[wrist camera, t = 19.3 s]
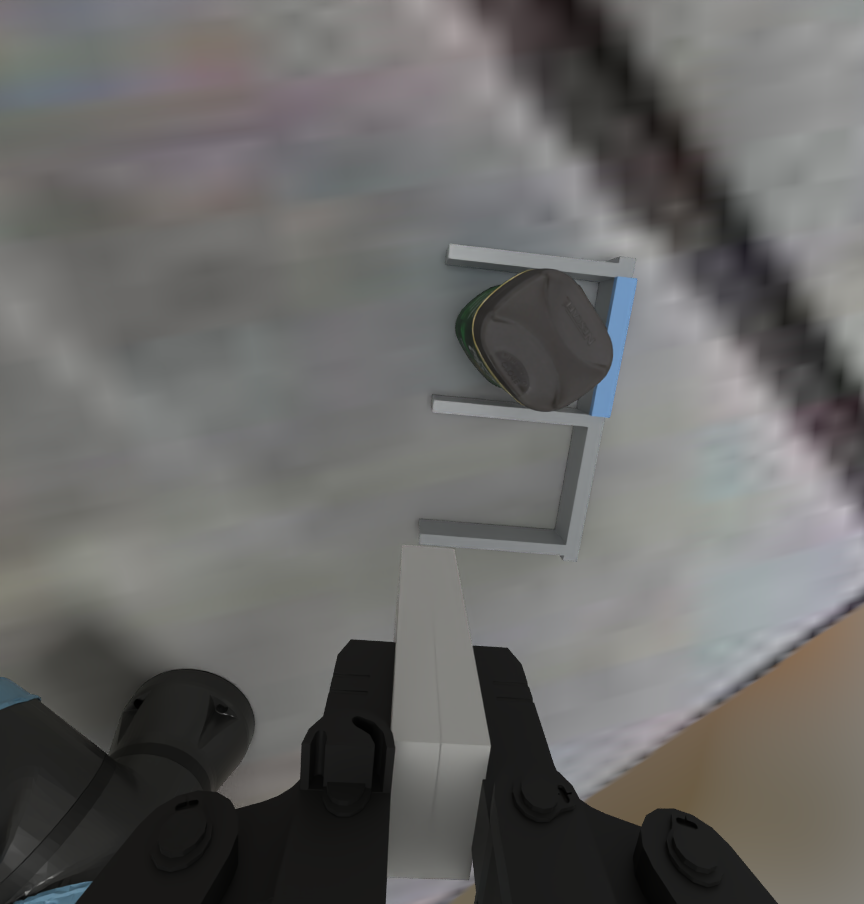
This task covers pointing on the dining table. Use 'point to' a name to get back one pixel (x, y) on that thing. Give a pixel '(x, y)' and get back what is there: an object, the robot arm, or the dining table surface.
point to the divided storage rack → (585, 418)
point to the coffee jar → (537, 339)
